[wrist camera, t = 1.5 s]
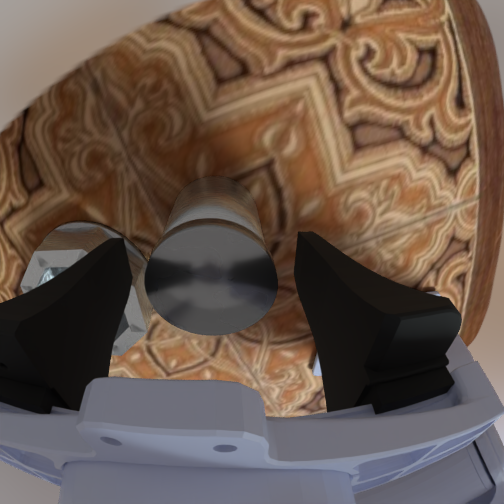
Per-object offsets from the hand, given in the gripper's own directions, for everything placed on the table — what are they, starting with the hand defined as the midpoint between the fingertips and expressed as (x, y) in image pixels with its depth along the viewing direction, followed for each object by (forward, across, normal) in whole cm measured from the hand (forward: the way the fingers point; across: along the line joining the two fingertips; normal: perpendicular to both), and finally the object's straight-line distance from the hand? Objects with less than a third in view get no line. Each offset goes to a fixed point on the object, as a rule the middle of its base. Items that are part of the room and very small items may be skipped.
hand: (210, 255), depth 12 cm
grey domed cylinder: (+4, 0, 0) cm, 4 cm away
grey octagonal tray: (+4, +8, +4) cm, 10 cm away
